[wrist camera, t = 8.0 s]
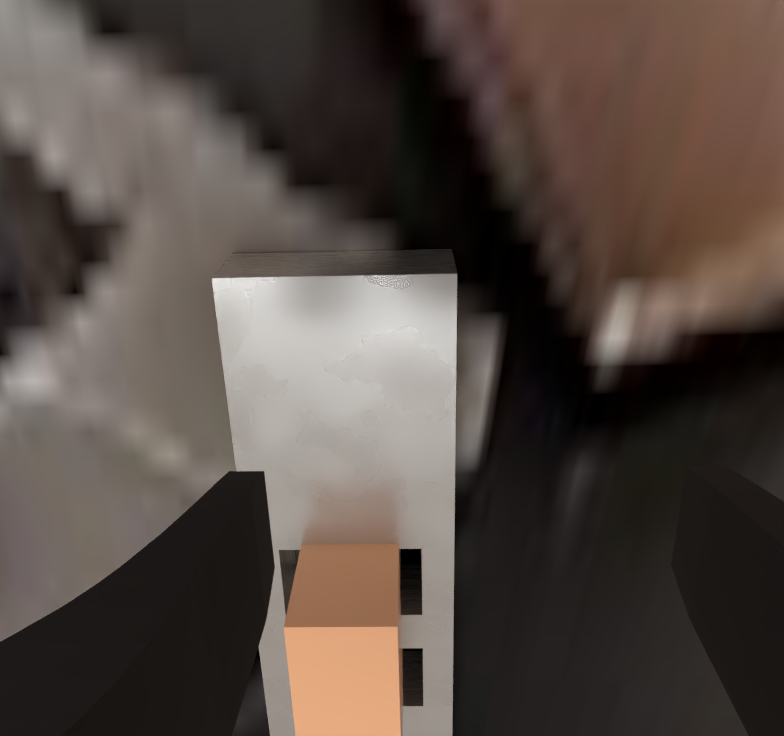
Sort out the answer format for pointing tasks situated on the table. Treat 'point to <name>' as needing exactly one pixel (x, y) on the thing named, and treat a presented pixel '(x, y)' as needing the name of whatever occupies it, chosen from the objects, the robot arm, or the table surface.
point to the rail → (350, 435)
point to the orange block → (346, 641)
